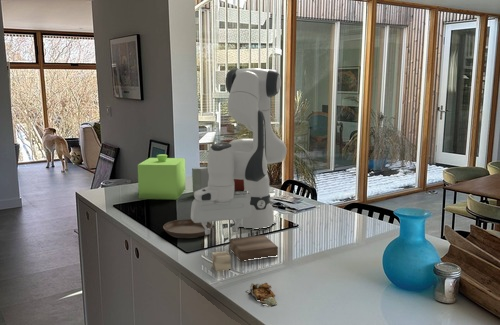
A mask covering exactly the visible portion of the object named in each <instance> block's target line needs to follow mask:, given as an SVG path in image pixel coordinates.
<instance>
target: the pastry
mask: <svg viewBox="0 0 500 325" xmlns="http://www.w3.org/2000/svg"><path fill="white" fill-rule="evenodd" d="M246 291H249V290H246ZM249 292H250V294H251V295H252V297H254V298H255V299H256V300H260V301H261V302H260V304H261V303H262V304H267V305H268V306H271V307H272V306H274V305H275V306H277V305H276V303H277V304H278V302H276V301H277V300H276V299H275V293H274V291H272V285H270V284H269V283H268V282H265V283H261V282H259V283H256V284H254V283H252V282H251V283H250V291H249ZM262 304H261V305H262ZM268 306H267V307H268Z"/></svg>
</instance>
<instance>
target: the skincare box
mask: <svg viewBox="0 0 500 325" xmlns="http://www.w3.org/2000/svg"><path fill="white" fill-rule="evenodd" d="M191 178H192V196H194V192H195V191H198V190H200V189H203V188H205V187H208V180H209V174H208V166H198V167H194V168H192V169H191Z"/></svg>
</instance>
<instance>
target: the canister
mask: <svg viewBox="0 0 500 325" xmlns="http://www.w3.org/2000/svg"><path fill="white" fill-rule="evenodd" d="M137 184H138V186H137V188H138V200H175V201H176V200H179V198H180V197H181V195H182V194H183V193H184V192H185V191H186V159H185V158H184V157H168V155H167V154H165V153H164V154H156V157H148V159H145V160H144V161H142V162H140V163H138V164H137ZM184 190H185V191H184Z"/></svg>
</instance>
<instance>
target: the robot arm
mask: <svg viewBox="0 0 500 325" xmlns="http://www.w3.org/2000/svg"><path fill="white" fill-rule="evenodd" d="M224 83H225V89H226V91H227V92H228V93H229V94H228V98H227V99H228V100H227V113H228V115H229V116H230V118H232V119H233V120H234V121H236V123H238V124H240V125H242V126H244V127H245V128H246V129H247V130H248V131H250V132H252V138H238V139H233V140H231V141H230V142H228V143H227V142H219V143H214V144H212V145H211V146H210V147H209V149H208V157H207V167H208V174H209V180H208V187H205V188H203V189H200V190H198V191H195V192H194V195H193V197H194V199H193V201H192V202H191V207H190V219H192V221H193V222H194V223H200V222H202V225H203V227H204V228H205V235H207V236H208V235H211V230H210V229H209V228H207V227H206V225H207V222H209V223H211V222H220V221H221V222H222V221H231V220H233V222H234V225H232V226H231V231H232V233H237V232H238V228H239V227H244V228H243V229H246V228H263V227H267V226H270V225H271V224H273V223H274V222H276V223H277V221H276V220H275V219H274V208H273V205H272V204H271V194H270V178H269V175H268V174H267V173H268V164H269V165H270V164H278V163H281V162H283V161H284V160H285V159H286V156H287V153H288V152H287V151H288V148H287V146H286V144H285V142H284V141H283V140H282V139H280V137H278V136H277V134H276V133H275V132H274V130H273V128H272V122H271V121H272V120H271V98H272V97H275V96H276V95H278V93H279V92H280V89H281V86H282V79H281V75H280V73H279V72H278V71H277V70H274V69H270V68H269V69H267V68H266V69H265V68H258V67H257V68H256V67H253V68H252V67H251V68H250V67H249V68H238V67H237V68H232V69H230V70H228V72H227V73H226V77H225V81H224ZM234 179H242V180H244V190H234Z"/></svg>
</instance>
